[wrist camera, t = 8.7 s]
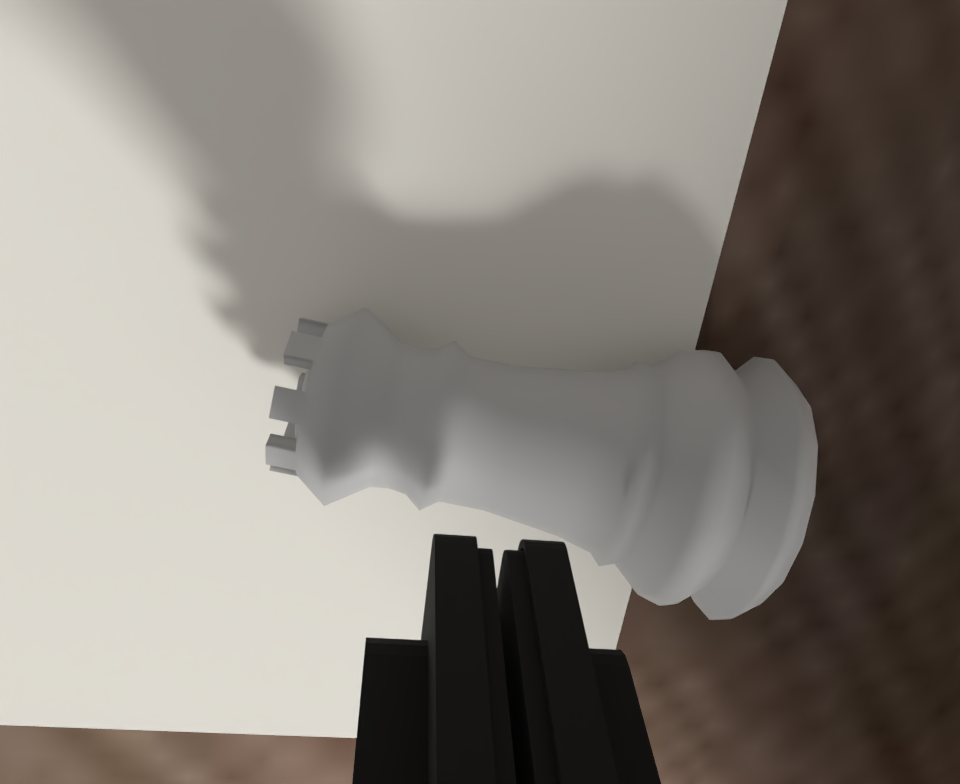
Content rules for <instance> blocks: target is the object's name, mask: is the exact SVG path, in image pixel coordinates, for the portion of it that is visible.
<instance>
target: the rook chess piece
mask: <svg viewBox="0 0 960 784" xmlns="http://www.w3.org/2000/svg"><path fill="white" fill-rule="evenodd" d="M283 357H284V364H287V365H291V366H296V367H301V368H306V369H307V372H306V373H302V374H301V375H300V376H299V379H298V384H297V389H296V390H294V389H289V388H284V387H280V386H275V388H274V393H273V398H272V403H271V408H270V413H269V418H270V419H275V420H280V421H284V422H288V425H287V428H286V431H285V434H284V436H281V435H276V434H271V433H270V436H269V438H268V441H267V443H266V446H265V458H266V465H270V469H269V471H274V472H279V473H284V474H289V475H294V476H298V477H299V478H300V479H301V481H302V482H303V483H304V484H305V485H306V486H307V487H308V488H309V490H310V491H311V492H312V493H313V494H314V495H315V496H316V497H317V499H318V500H319V501H320V502H321V503H322V504H323V505H324V506H326V505H328V504H330V503H333V502H335V501H337V500H340V499H342V498H344V497H347V496H349V495H352V494H354V493H356V492H359V491H361V490H363V489H366V488H368V487H378V488H389V489H392V490H395V491H398V492H401V493H403V494H406V495H407V497H408V498H409V499H410V500H411V501H412V502H413V504H414V505H415V506H416V507H417V508H418V510H419V511H420V510H422V509H424V508H426V507H428V506H430V505H432V504H434V503H437V502H444V503H449V504H454V505H459V506H464V507H469V508H474V509H479V510H484V511H487V512H490V513H493V514H495V515H498V516H501V517H504V518H507V519H510V520H513V521H516V522H518V523H521V524H524V525H527V526H530V527H533V528H536V529H539V530H542V531H544V532H547V533H550V534H553V535H556V536H558V537H560V538H562V539H564V540H566V541H568V542H570V543H572V544H574V545H576V546H578V547H580V548H582V549H584V550H586V551H588V552H590V553H591V555H592V556H593V558H594V560H595V561H596V563H597V564H598V566H604V565H610V564H615V565H616V566H617V568H618V569H619V570H620V572H621V573H622V574H623V576H624V577H625V579H626V580H627V581H628V583H629V584H630V585H631V587H632V588H633V589H634V591H635V592H636V593H637V595H639V596H641V597H643V598H645V599H647V600H649V601H651V602H653V603H655V604H657V605H659V606H662V605H670V604H678V603H679V602H681V601H683V600H684V599H686V598H688V597H689V596H691V598H692V599H693V601H694V603H695V604H696V605H697V606H698V607H699V608H700V609H701V611H702V612H703V613H704V614H705V615H706V616H707V618H708V619H709V620H721V619H732V618H734V617H736V616H738V615H740V614H742V613H744V612H746V611H748V610H750V609H752V608H754V607H756V606H758V605H760V604H762V603H763V602H764V601H765V600H766V599H767V598H768V597H769V596H770V595H771V594H772V593H773V592H774V591H775V590H776V589H777V588H778V587H779V586H780V585H781V584H782V583H783V582H784V580H785V578H786V576H787V574H788V572H789V570H790V568H791V566H792V564H793V562H794V560H795V558H796V556H797V554H798V552H799V550H800V548H801V546H802V544H803V541H804V537H805V533H806V529H807V525H808V521H809V517H810V514H811V510H812V506H813V502H814V498H815V490H816V473H817V456H818V443H817V437H816V432H815V426H814V421H813V415H812V409H811V407H810V405H809V403H808V402H807V400H806V399H805V397H804V396H803V394H802V393H801V391H800V390H799V388H798V387H797V385H796V384H795V383H794V382H793V381H792V379H791V378H790V377H789V376H788V375H787V374H786V372H785V371H784V370H783V369H782V368H781V367H780V366H779V364H778V363H777V362H776V361H775V360H773V359H767V358H760V357H753V358H751V359H750V360H749V361H747V362H746V363H745V364H743V365H742V366H741V367H739V368H738V369H736V370H735V371H734V369H733V368H732V367H731V365H730V364H729V363H728V361H727V360H726V359H725V357H724V356H723V355H722V353H721V352H715V351H709V350H691V351H680V352H678V353H677V354H675V355H673V356H672V357H670V358H668V359H667V360H665V361H663V362H661V363H660V364H658V365H656V366H655V367H653V368H652V367H651V366H649V365H648V364H646V363H642V362H638V361H636V362H634V363H633V364H632V365H631V366H630V367H629V368H627V369H626V370H609V371H592V372H586V371H573V370H561V369H548V368H535V367H522V366H512V365H507V364H502V363H498V362H493V361H488V360H484V359H479V358H474V357H470V356H468V355H467V354H466V353H465V352H464V350H463V349H462V348H461V347H460V346H459V345H458V344H457V343H456V342H455V341H453V342H451V343H449V344H447V345H445V346H443V347H441V348H439V349H437V350H433V349H420V348H416V347H413V346H410V345H407V344H404V343H402V342H400V341H399V340H398V339H397V338H396V337H395V336H394V335H393V334H392V333H391V332H390V331H389V329H388V328H387V327H386V326H385V325H384V324H383V323H382V322H381V321H380V320H379V319H378V318H377V317H376V316H375V315H374V314H373V313H372V312H371V311H370V310H369V309H368V308H363V309H361V310H359V311H357V312H355V313H352V314H350V315H348V316H346V317H343V318H341V319H339V320H337V321H335V322H332V323H326V322H321V321H317V320H312V319H307V318H299V323H298V329H297V332H295V331H292V332H291V335H290V337H289V340H288V343H287V346H286V348H285V351H284V354H283Z"/></svg>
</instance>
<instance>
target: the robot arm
mask: <svg viewBox="0 0 960 784" xmlns="http://www.w3.org/2000/svg"><path fill="white" fill-rule="evenodd" d="M352 784H661V782H660V778H659V775H658V771H657V767H656V764H655V760H654V756H653V753H652V749H651V745H650V742H649V738H648V734H647V731H646V727H645V723H644V720H643V716H642V712H641V709H640V705H639V701H638V697H637V694H636V690H635V686H634V683H633V679H632V675H631V672H630V668H629V665H628V662H627V659H626V657H625V655H624V653H623V652H622V651H621V650H614V649H593V648H589V645H588V641H587V636H586V632H585V627H584V623H583V618H582V614H581V609H580V605H579V600H578V596H577V591H576V587H575V582H574V578H573V573H572V569H571V564H570V560H569V555H568V551H567V547H566V544H565V543H564V542H560V541H544V540H528V539H522V540H521V541H520V543H519V547H518V550H504V552H503V556H502V561H501V567H500V573H499V579H498V585H497V586H496V576H495V566H494V557H493V550H492V549H487V548H478V544H477V538H476V536H463V535H447V534H434V535H433V539H432V547H431V555H430V564H429V573H428V581H427V590H426V599H425V607H424V616H423V625H422V633H421V640H410V639H389V638H369V637H366V642H365V652H364V663H363V674H362V685H361V696H360V707H359V717H358V728H357V739H356V750H355V761H354V772H353V783H352Z"/></svg>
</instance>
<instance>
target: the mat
mask: <svg viewBox="0 0 960 784" xmlns="http://www.w3.org/2000/svg"><path fill="white" fill-rule="evenodd" d="M787 1H788V0H0V725H18V726H45V727H73V728H100V729H127V730H154V731H181V732H208V733H236V734H263V735H290V736H317V737H344V738H357V728H358V717H359V707H360V696H361V685H362V674H363V663H364V652H365V642H366V637H369V638H389V639H410V640H421V633H422V625H423V616H424V607H425V599H426V590H427V581H428V573H429V564H430V555H431V547H432V539H433V535H434V534H447V535H463V536H476V538H477V544H478V548H487V549H492V550H493V557H494V566H495V576H496V586H497V585H498V579H499V573H500V567H501V561H502V556H503V552H504V550H518V547H519V543H520V541H521V540H522V539H528V540H544V541H560V542H564V543H565V544H566V547H567V551H568V555H569V560H570V564H571V569H572V573H573V578H574V582H575V587H576V591H577V596H578V600H579V605H580V609H581V614H582V618H583V623H584V627H585V632H586V636H587V641H588V645H589V648H593V649H614V650H616V646H617V642H618V638H619V634H620V631H621V627H622V623H623V619H624V616H625V612H626V608H627V604H628V601H629V597H630V593H631V589H632V587H631V585H630V584H629V583H628V581H627V580H626V579H625V577H624V576H623V574H622V573H621V572H620V570H619V569H618V568H617V566H616V565H615V564H610V565H604V566H598V564H597V563H596V561H595V560H594V558H593V556H592V555H591V553H590V552H588V551H586V550H584V549H582V548H580V547H578V546H576V545H574V544H572V543H570V542H568V541H566V540H564V539H562V538H560V537H558V536H556V535H553V534H550V533H547V532H544V531H542V530H539V529H536V528H533V527H530V526H527V525H524V524H521V523H518V522H516V521H513V520H510V519H507V518H504V517H501V516H498V515H495V514H493V513H490V512H487V511H484V510H479V509H474V508H469V507H464V506H459V505H454V504H449V503H444V502H437V503H434V504H432V505H430V506H428V507H426V508H424V509H422V510H420V511H419V510H418V508H417V507H416V506H415V505H414V504H413V502H412V501H411V500H410V499H409V498H408V497H407V495H406V494H403V493H401V492H398V491H395V490H392V489H389V488H378V487H368V488H366V489H363V490H361V491H359V492H356V493H354V494H352V495H349V496H347V497H344V498H342V499H340V500H337V501H335V502H333V503H330V504H328V505H326V506H324V505H323V504H322V503H321V502H320V501H319V500H318V499H317V497H316V496H315V495H314V494H313V493H312V492H311V491H310V490H309V488H308V487H307V486H306V485H305V484H304V483H303V482H302V481H301V479H300V478H299V477H298V476H294V475H289V474H284V473H279V472H274V471H269V469H270V465H266V458H265V446H266V443H267V441H268V438H269V436H270V433H271V434H276V435H281V436H284V434H285V431H286V428H287V425H288V422H284V421H280V420H275V419H270V418H269V413H270V408H271V403H272V398H273V393H274V388H275V386H280V387H284V388H289V389H294V390H296V389H297V384H298V379H299V376H300V375H301V374H302V373H306V372H307V369H306V368H301V367H296V366H291V365H287V364H284V357H283V354H284V351H285V348H286V346H287V343H288V340H289V337H290V335H291V332H292V331H295V332H297V329H298V323H299V318H307V319H312V320H317V321H321V322H326V323H332V322H335V321H337V320H339V319H341V318H343V317H346V316H348V315H350V314H352V313H355V312H357V311H359V310H361V309H363V308H368V309H369V310H370V311H371V312H372V313H373V314H374V315H375V316H376V317H377V318H378V319H379V320H380V321H381V322H382V323H383V324H384V325H385V326H386V327H387V328H388V329H389V331H390V332H391V333H392V334H393V335H394V336H395V337H396V338H397V339H398V340H399V341H400V342H402V343H404V344H407V345H410V346H413V347H416V348H420V349H433V350H437V349H439V348H441V347H443V346H445V345H447V344H449V343H451V342H453V341H455V342H456V343H457V344H458V345H459V346H460V347H461V348H462V349H463V350H464V352H465V353H466V354H467V355H468V356H470V357H474V358H479V359H484V360H488V361H493V362H498V363H502V364H507V365H512V366H522V367H535V368H548V369H561V370H573V371H586V372H592V371H609V370H626V369H627V368H629V367H630V366H631V365H632V364H633V363H634V362H636V361H638V362H642V363H646V364H648V365H649V366H651V367H652V368H653V367H655V366H656V365H658V364H660V363H661V362H663V361H665V360H667V359H668V358H670V357H672V356H673V355H675V354H677V353H678V352H680V351H691V350H695V348H696V344H697V340H698V337H699V333H700V329H701V325H702V321H703V318H704V314H705V310H706V306H707V303H708V299H709V295H710V291H711V288H712V284H713V280H714V276H715V272H716V269H717V265H718V261H719V257H720V254H721V250H722V246H723V242H724V239H725V235H726V231H727V227H728V223H729V220H730V216H731V212H732V208H733V205H734V201H735V197H736V193H737V189H738V186H739V182H740V178H741V174H742V171H743V167H744V163H745V159H746V156H747V152H748V148H749V144H750V140H751V137H752V133H753V129H754V125H755V122H756V118H757V114H758V110H759V107H760V103H761V99H762V95H763V91H764V88H765V84H766V80H767V76H768V73H769V69H770V65H771V61H772V57H773V54H774V50H775V46H776V42H777V39H778V35H779V31H780V27H781V24H782V20H783V16H784V12H785V8H786V5H787Z"/></svg>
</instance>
